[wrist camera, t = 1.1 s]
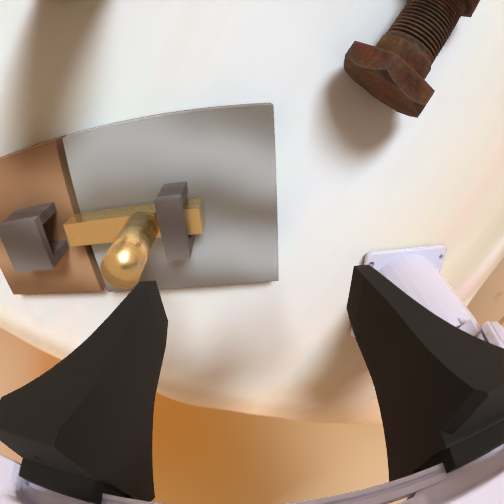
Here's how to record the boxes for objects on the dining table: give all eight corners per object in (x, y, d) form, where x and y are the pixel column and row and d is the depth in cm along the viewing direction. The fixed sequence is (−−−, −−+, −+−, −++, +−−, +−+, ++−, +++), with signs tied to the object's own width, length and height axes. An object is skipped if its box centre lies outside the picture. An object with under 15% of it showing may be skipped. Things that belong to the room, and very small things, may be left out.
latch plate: (276, 268, 23) (283, 305, 20) (20, 284, 23) (0, 313, 19) (270, 102, 17) (279, 109, 13) (-24, 167, 17) (-55, 187, 13)
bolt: (445, -27, 12) (364, 95, 18) (420, -72, 8) (323, 54, 14) (508, -7, 8) (433, 132, 14) (491, -59, 5) (405, 85, 11)
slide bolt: (205, 224, 19) (195, 285, 14) (80, 237, 19) (41, 292, 14) (201, 194, 18) (187, 247, 13) (72, 211, 18) (27, 262, 13)
